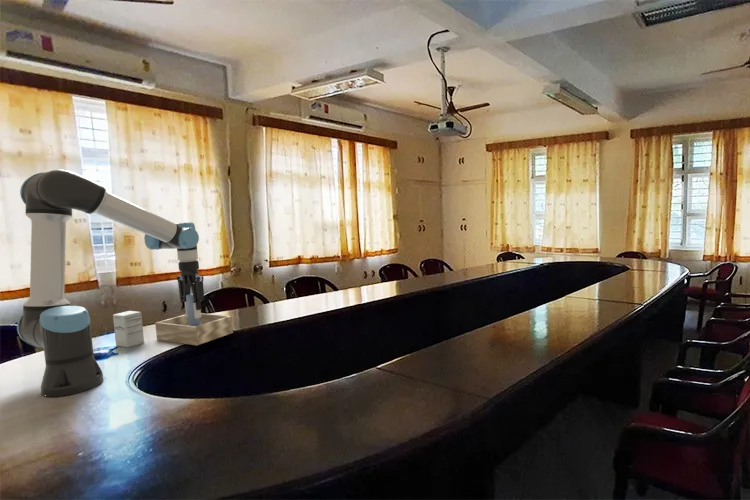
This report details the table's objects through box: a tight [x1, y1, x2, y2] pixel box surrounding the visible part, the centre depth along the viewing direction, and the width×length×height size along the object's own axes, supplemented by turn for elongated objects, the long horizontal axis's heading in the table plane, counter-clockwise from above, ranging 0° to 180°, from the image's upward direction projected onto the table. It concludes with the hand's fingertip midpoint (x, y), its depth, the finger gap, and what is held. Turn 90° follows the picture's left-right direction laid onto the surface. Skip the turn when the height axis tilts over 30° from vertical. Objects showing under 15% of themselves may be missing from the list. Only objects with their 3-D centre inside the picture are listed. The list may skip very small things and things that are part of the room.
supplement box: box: [112, 310, 145, 348], centre depth 171 cm, size 7×7×13 cm
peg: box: [186, 293, 201, 326], centre depth 177 cm, size 4×4×13 cm
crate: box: [154, 312, 234, 346], centre depth 177 cm, size 18×24×7 cm
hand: (193, 317), depth 177 cm, fingers closed on peg, 4 cm apart
